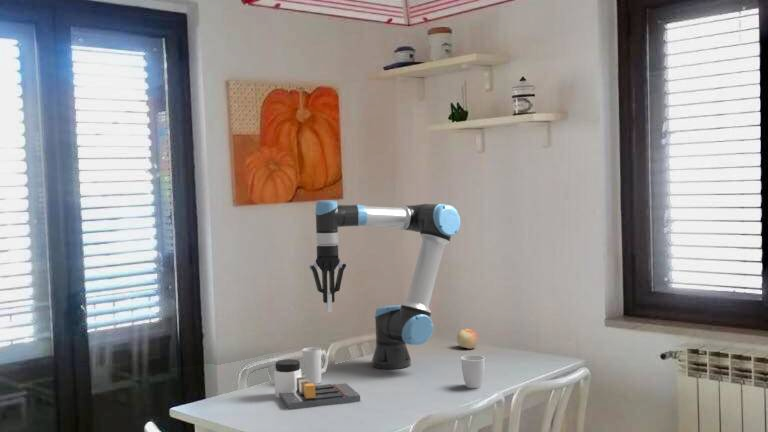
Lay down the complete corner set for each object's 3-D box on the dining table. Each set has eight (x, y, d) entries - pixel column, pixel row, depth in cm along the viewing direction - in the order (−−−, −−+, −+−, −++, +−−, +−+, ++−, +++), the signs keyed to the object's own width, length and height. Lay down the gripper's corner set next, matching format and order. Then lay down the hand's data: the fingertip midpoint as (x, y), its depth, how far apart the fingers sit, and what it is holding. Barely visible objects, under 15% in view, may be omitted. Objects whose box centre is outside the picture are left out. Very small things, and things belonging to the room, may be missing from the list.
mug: (309, 385, 288) (308, 352, 287) (299, 382, 293) (298, 349, 293) (333, 380, 294) (332, 348, 293) (323, 377, 299) (322, 345, 299)
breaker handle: (313, 395, 265) (313, 383, 265) (315, 397, 263) (315, 385, 262) (304, 396, 265) (304, 384, 264) (306, 398, 262) (306, 386, 262)
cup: (486, 384, 285) (486, 355, 284) (483, 390, 277) (482, 360, 277) (463, 382, 287) (463, 354, 287) (459, 388, 279) (459, 360, 279)
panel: (346, 388, 283) (345, 370, 282) (360, 401, 266) (359, 381, 266) (277, 396, 275) (277, 376, 275) (287, 409, 259) (287, 389, 259)
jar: (285, 392, 281) (284, 358, 281) (305, 394, 278) (304, 359, 277) (271, 399, 273) (270, 363, 273) (291, 401, 270) (290, 365, 269)
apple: (467, 345, 350) (466, 326, 350) (482, 348, 343) (481, 329, 343) (452, 348, 344) (452, 329, 344) (467, 351, 338) (467, 332, 337)
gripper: (342, 243, 290) (344, 308, 291) (306, 244, 286) (308, 311, 287) (348, 244, 283) (349, 312, 284) (311, 246, 278) (313, 314, 280)
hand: (329, 311), depth 285 cm, fingers closed
